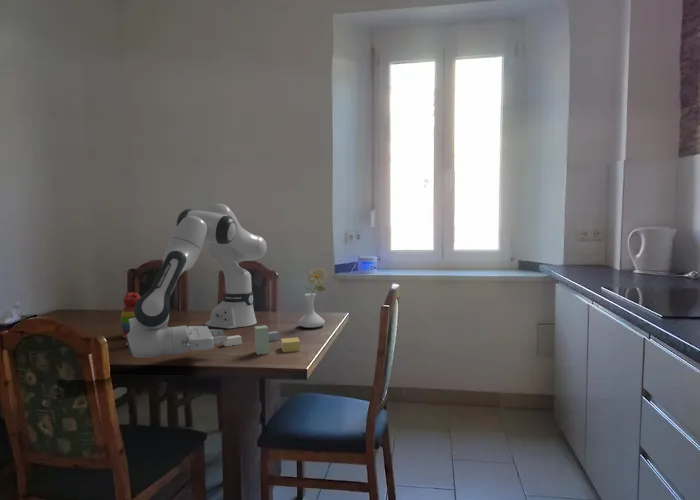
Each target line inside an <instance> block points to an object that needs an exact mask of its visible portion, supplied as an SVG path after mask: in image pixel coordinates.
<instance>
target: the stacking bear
mask: <svg viewBox="0 0 700 500" xmlns="http://www.w3.org/2000/svg"><path fill="white" fill-rule="evenodd" d="M140 297H142V295H140V294H139V293H137V292H129V291H128V292H126V294H125V295H124V297H123V303H124V306H125V307H123V308H122V311H121V316H120V325H121V326H120V327H121V329H122V335H123V336H127V334H128V333H129V332H130V324H129V319H131V318H136V317H135V314H134V307H135V304H136V302H137V301H138V300H139V298H140ZM122 335H121V336H122Z"/></svg>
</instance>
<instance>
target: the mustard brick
mask: <svg viewBox="0 0 700 500" xmlns="http://www.w3.org/2000/svg"><path fill="white" fill-rule="evenodd" d="M280 343H281V345H280V347H281V351H282V353H289V352H300V351H301V341H300V339H299V337H283V338H281V339H280Z"/></svg>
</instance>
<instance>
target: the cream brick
mask: <svg viewBox="0 0 700 500" xmlns="http://www.w3.org/2000/svg"><path fill="white" fill-rule="evenodd" d="M242 339H243V337H242V336H241V335H239V334H237V335H231V336H230V335H229V336H227V341H226V342H222V343H223V344H222V346H224V347H226V346H228V347H232V345H234V346H240V345H242V344H243V341H242Z"/></svg>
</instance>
